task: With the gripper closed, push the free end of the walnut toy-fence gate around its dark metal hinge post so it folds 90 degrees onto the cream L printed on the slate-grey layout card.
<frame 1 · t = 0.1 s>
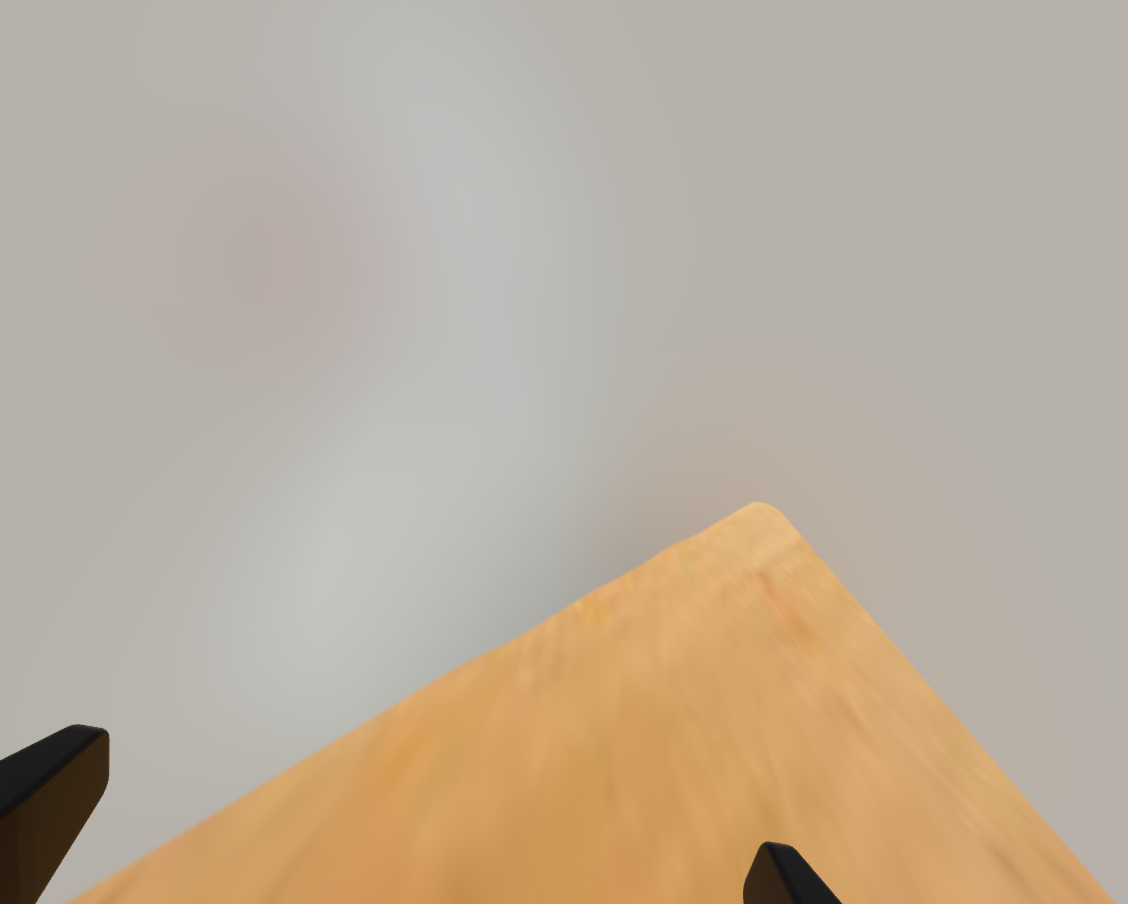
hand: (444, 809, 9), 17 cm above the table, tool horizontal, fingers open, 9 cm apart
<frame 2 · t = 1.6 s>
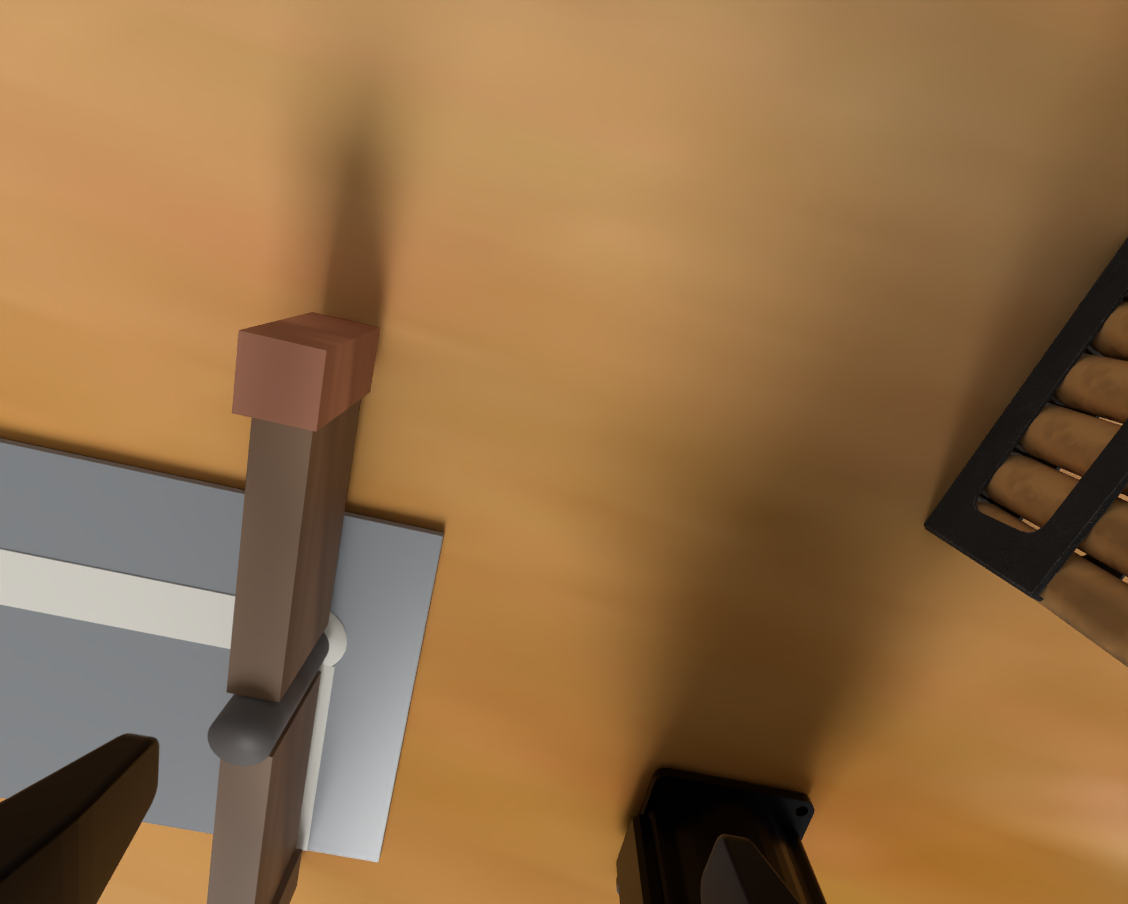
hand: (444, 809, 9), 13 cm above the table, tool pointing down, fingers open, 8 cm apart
ammunition clip: (1037, 400, 21), on the table
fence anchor: (303, 643, 22), resting on layout card
fence gate: (297, 508, 18), point 3 cm above the table, hinge at 0.0°
layout card: (194, 668, 23), on the table
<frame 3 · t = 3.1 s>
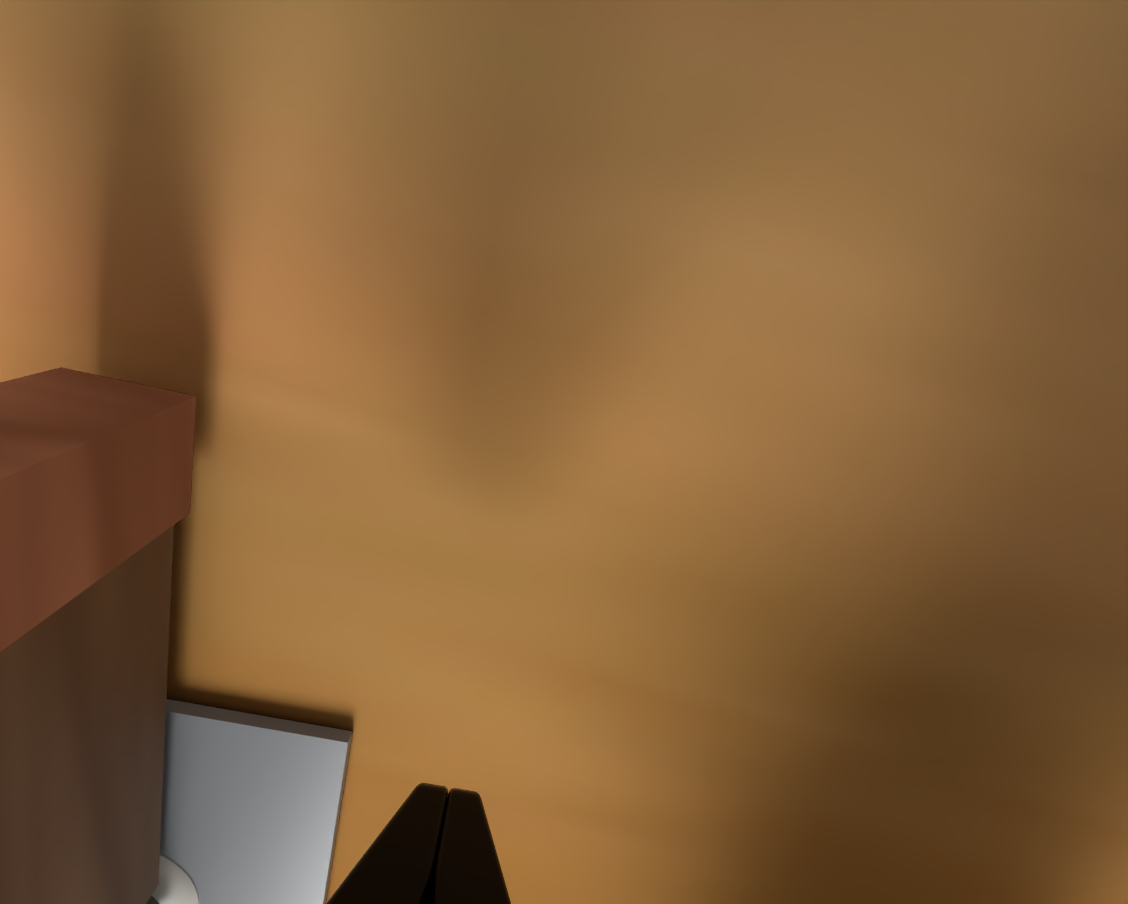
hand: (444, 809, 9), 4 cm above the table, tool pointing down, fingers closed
fence gate: (22, 764, 9), point 3 cm above the table, hinge at 0.0°
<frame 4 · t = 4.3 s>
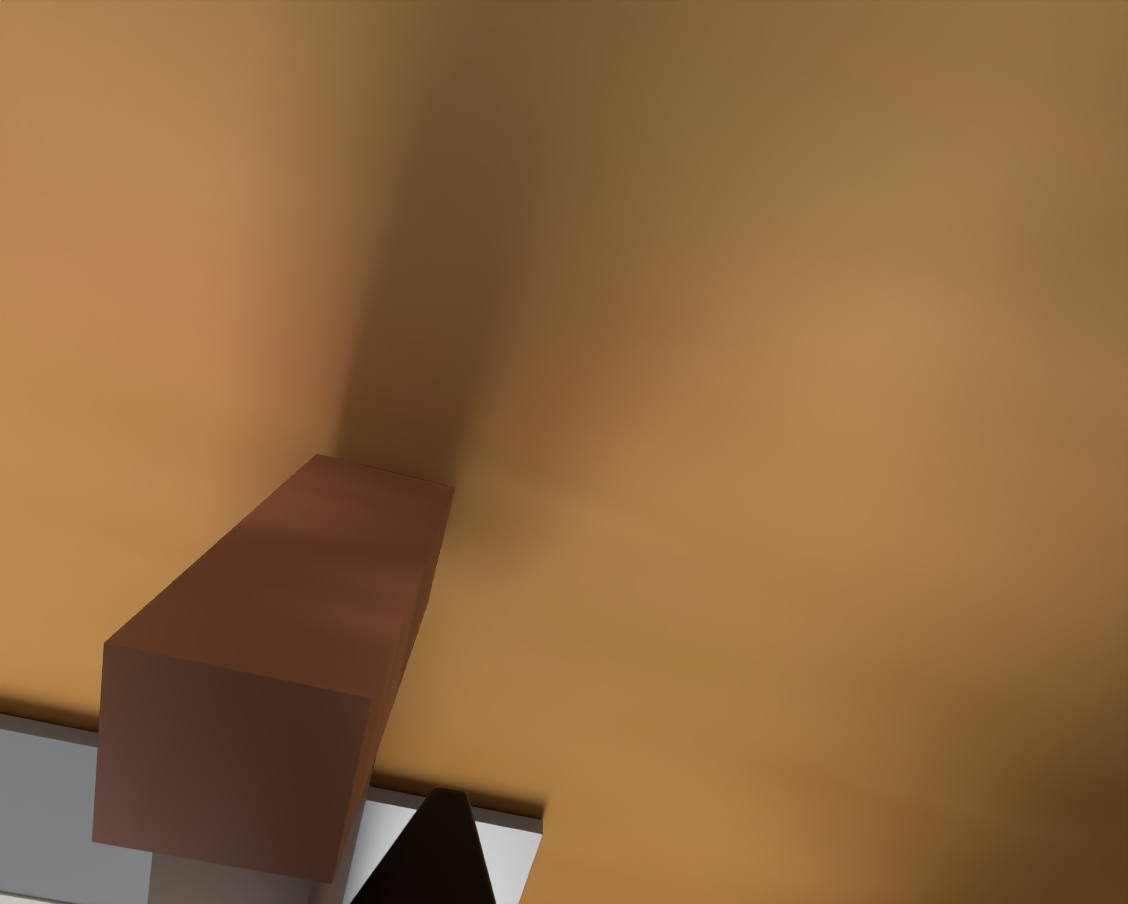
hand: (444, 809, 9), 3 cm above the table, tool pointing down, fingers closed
fence gate: (274, 883, 8), point 3 cm above the table, hinge at 0.3°, touching gripper
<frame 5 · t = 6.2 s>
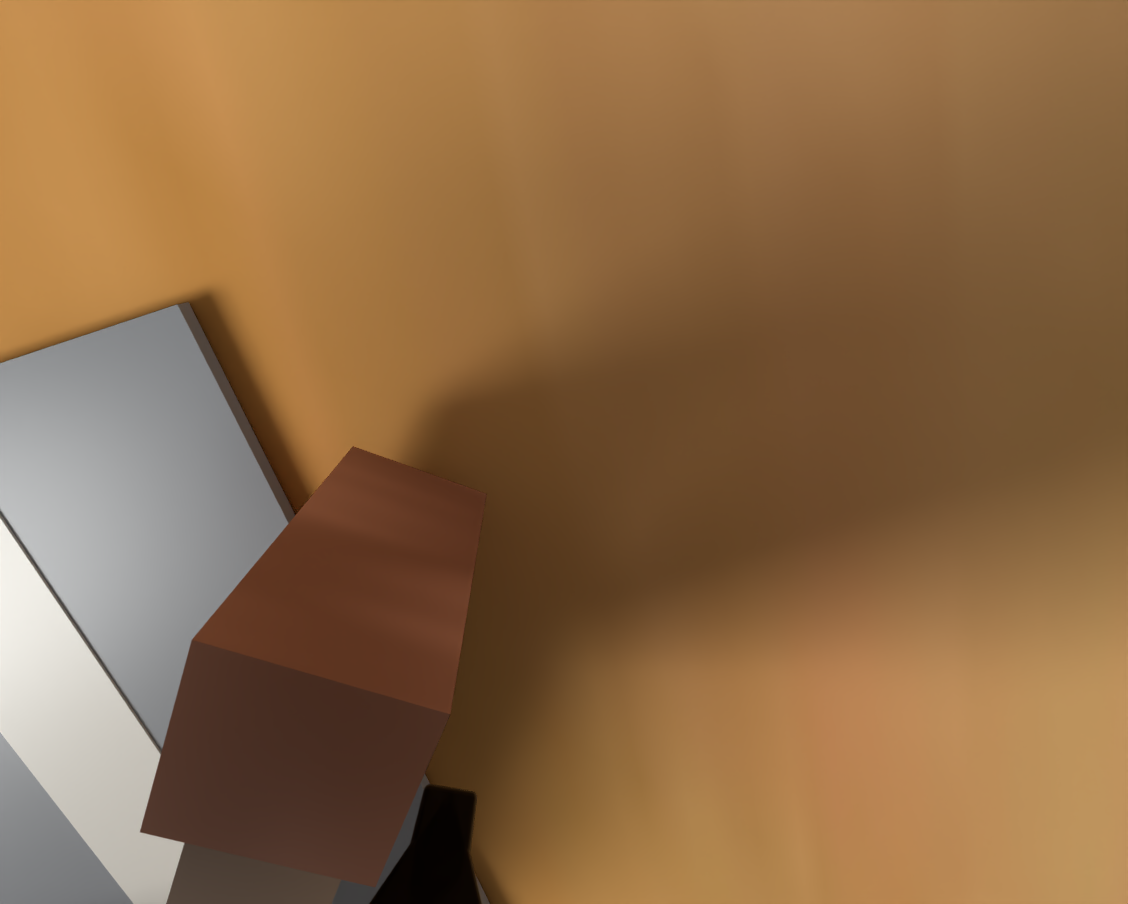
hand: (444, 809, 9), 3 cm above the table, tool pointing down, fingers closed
fence gate: (268, 872, 8), point 3 cm above the table, hinge at 50.4°, touching gripper
layout card: (26, 842, 12), on the table
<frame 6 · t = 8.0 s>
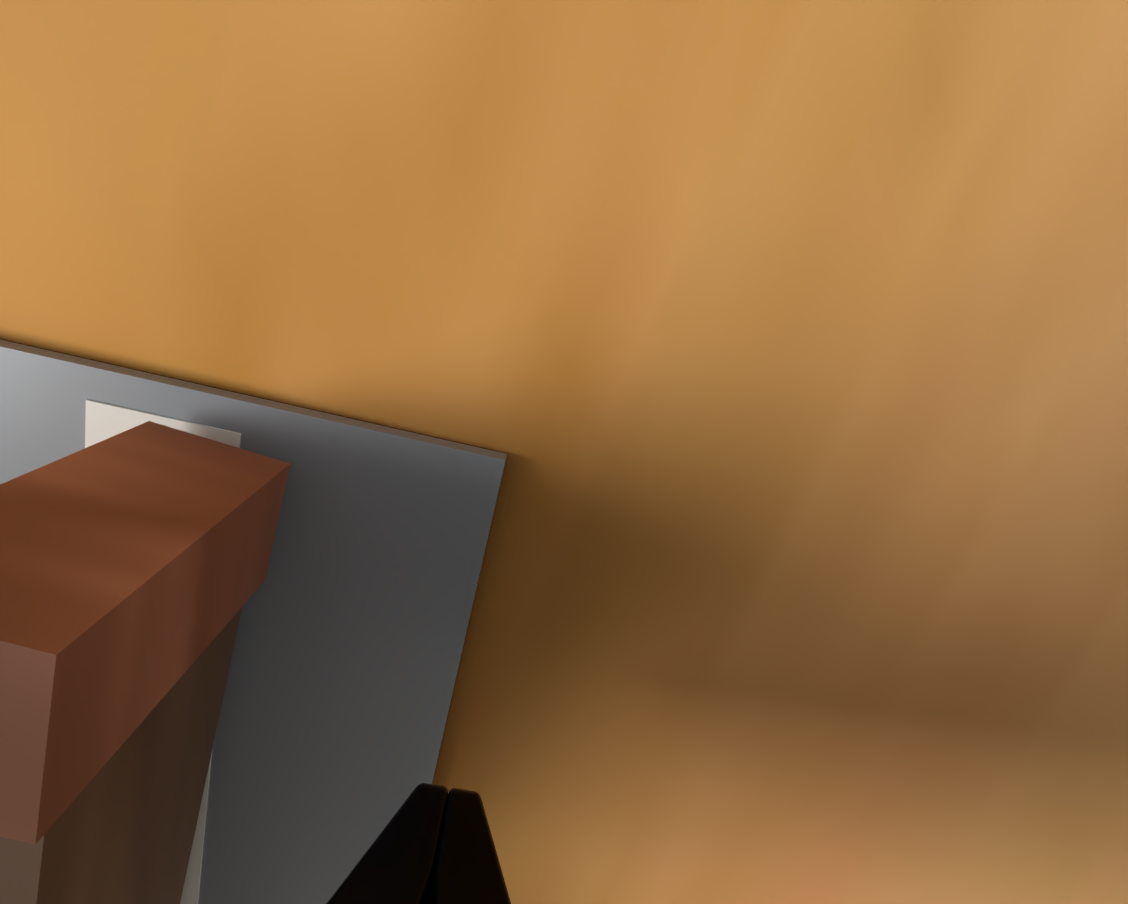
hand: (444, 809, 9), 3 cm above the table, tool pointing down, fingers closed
fence gate: (70, 851, 8), point 3 cm above the table, hinge at 85.0°
layout card: (14, 767, 12), on the table
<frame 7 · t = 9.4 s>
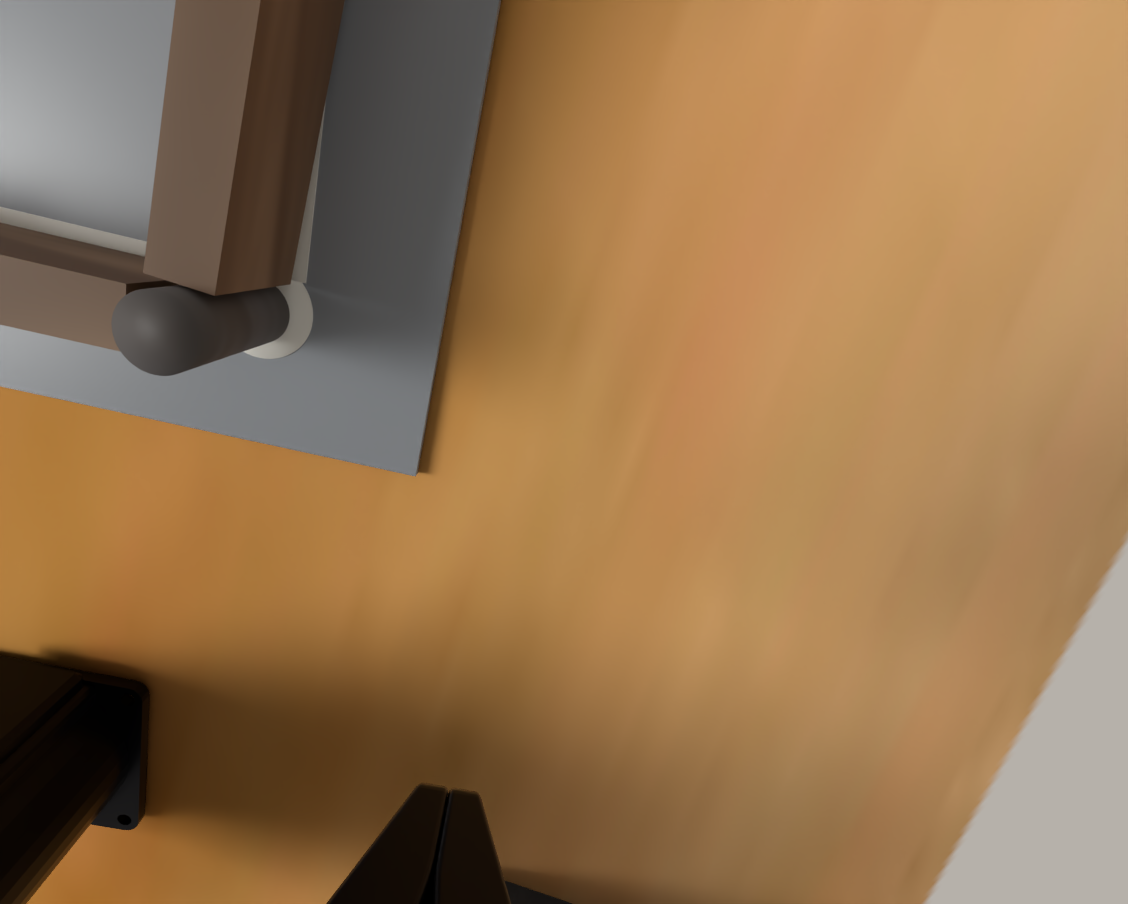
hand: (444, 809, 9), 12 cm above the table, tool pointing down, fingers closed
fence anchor: (256, 310, 17), resting on layout card
fence gate: (258, 38, 13), point 3 cm above the table, hinge at 85.0°
layout card: (186, 136, 17), on the table
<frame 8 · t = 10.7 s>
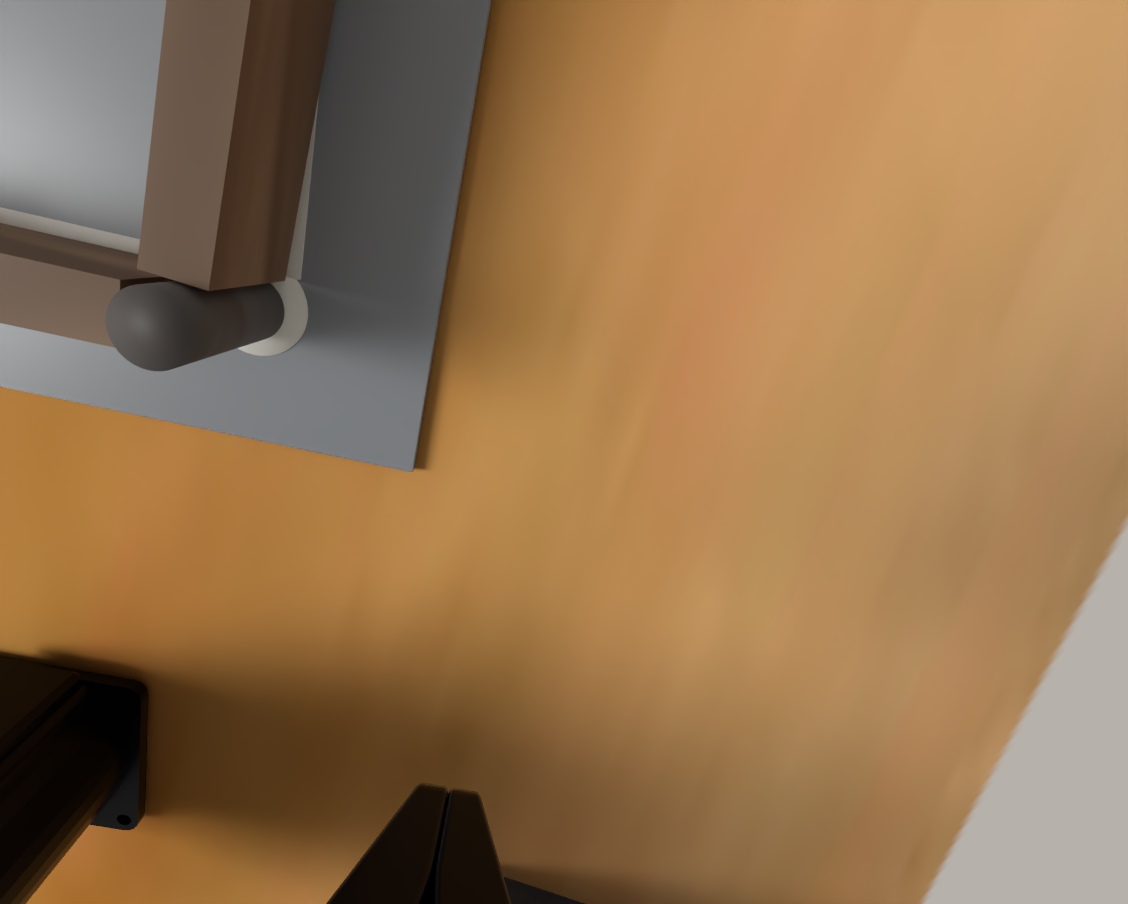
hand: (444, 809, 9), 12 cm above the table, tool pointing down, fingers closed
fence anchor: (251, 307, 18), resting on layout card
fence gate: (250, 34, 14), point 3 cm above the table, hinge at 85.0°
layout card: (179, 134, 17), on the table
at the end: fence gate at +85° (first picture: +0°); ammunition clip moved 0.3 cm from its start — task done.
